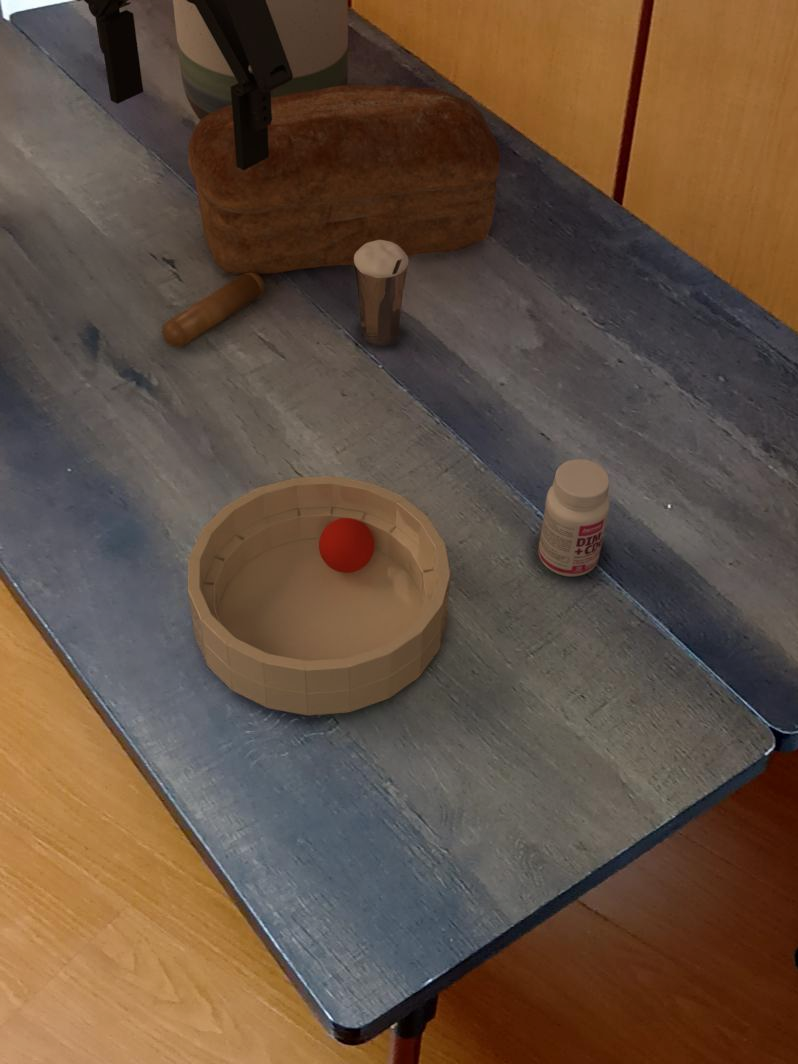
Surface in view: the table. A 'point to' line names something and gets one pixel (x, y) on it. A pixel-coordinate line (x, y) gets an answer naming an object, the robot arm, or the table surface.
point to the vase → (305, 33)
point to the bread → (346, 178)
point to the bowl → (317, 597)
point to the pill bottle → (575, 518)
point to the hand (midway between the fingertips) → (188, 128)
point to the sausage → (212, 309)
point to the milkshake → (380, 290)
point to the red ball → (346, 545)
